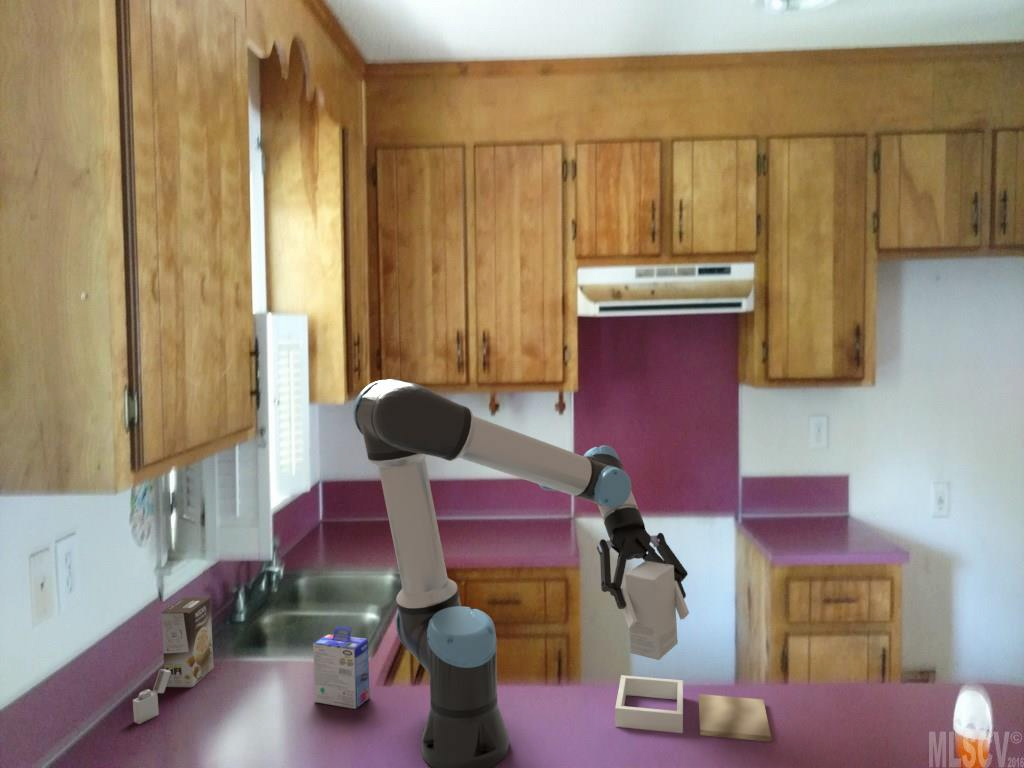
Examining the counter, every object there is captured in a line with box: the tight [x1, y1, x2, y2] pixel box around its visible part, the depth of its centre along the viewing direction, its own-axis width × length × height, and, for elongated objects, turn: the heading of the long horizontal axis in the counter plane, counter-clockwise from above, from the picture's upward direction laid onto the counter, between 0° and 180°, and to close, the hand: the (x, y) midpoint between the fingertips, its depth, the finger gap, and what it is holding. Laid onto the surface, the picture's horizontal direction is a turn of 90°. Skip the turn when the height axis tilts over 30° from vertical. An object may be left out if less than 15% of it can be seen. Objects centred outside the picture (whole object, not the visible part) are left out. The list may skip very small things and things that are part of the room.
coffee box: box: [160, 596, 214, 688], centre depth 159 cm, size 9×6×16 cm
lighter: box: [132, 668, 171, 725], centre depth 144 cm, size 7×2×8 cm, turn 148°
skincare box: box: [624, 561, 679, 661], centre depth 139 cm, size 8×7×16 cm
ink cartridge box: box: [312, 625, 371, 710], centre depth 147 cm, size 10×6×14 cm, turn 71°
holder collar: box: [614, 674, 684, 734], centre depth 140 cm, size 12×13×4 cm
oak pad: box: [698, 693, 772, 743], centre depth 137 cm, size 12×13×1 cm
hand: (659, 620), depth 136 cm, fingers closed on skincare box, 10 cm apart
